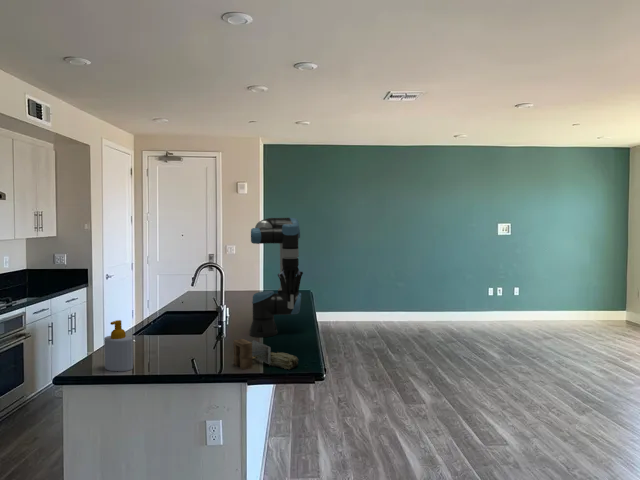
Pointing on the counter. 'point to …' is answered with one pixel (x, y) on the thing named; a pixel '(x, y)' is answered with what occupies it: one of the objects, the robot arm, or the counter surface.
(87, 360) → the counter surface
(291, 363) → the mushroom
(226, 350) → the counter surface
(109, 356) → the soap bottle
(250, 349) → the base
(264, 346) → the plate
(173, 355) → the counter surface
